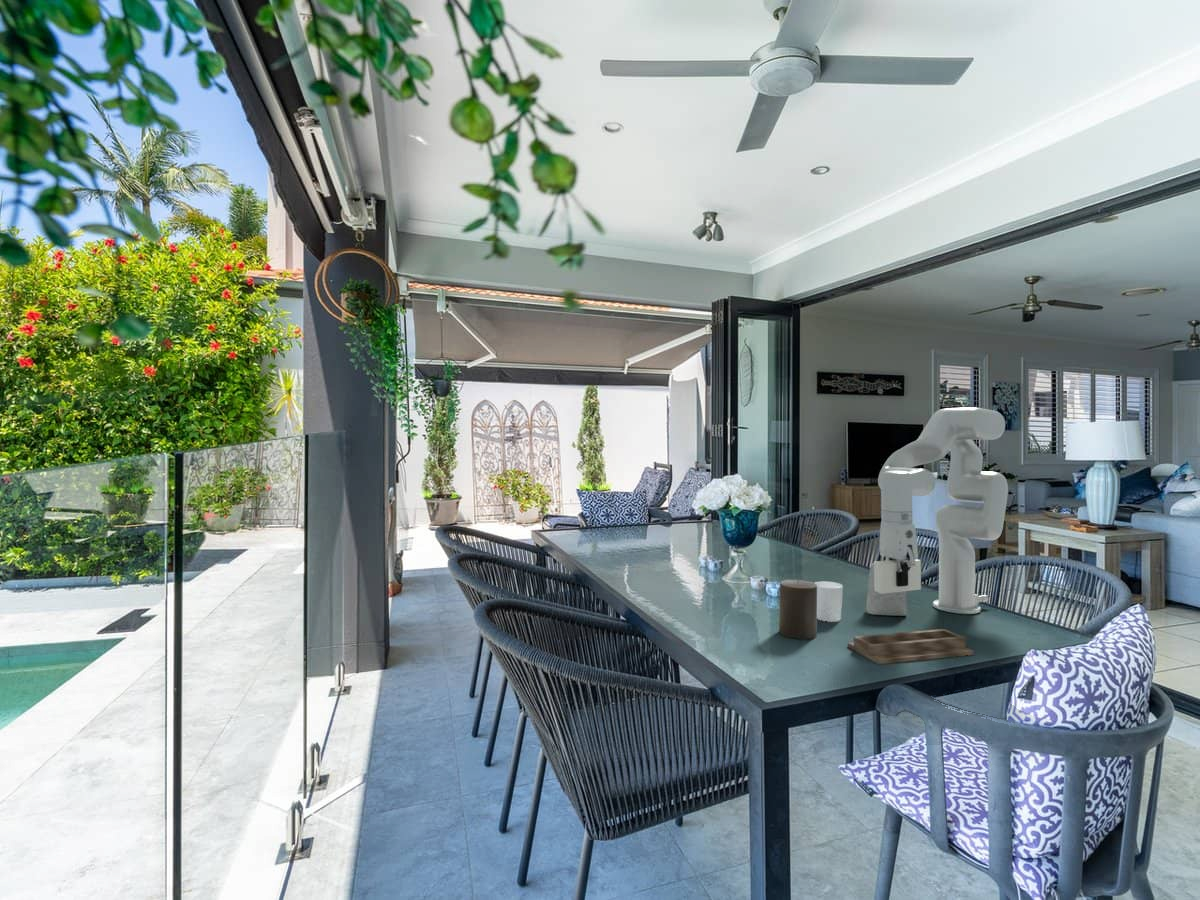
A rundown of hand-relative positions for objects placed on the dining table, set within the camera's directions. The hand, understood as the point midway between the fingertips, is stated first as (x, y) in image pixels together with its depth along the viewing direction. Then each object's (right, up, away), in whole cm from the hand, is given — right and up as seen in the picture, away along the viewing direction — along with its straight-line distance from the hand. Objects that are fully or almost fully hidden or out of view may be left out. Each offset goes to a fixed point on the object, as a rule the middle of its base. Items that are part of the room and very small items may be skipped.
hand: (897, 583), depth 168 cm
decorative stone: (+4, -13, +16) cm, 21 cm away
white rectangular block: (0, -2, 0) cm, 2 cm away
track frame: (-4, -14, -14) cm, 20 cm away
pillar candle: (-27, -14, 0) cm, 30 cm away
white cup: (-14, -13, +13) cm, 23 cm away
